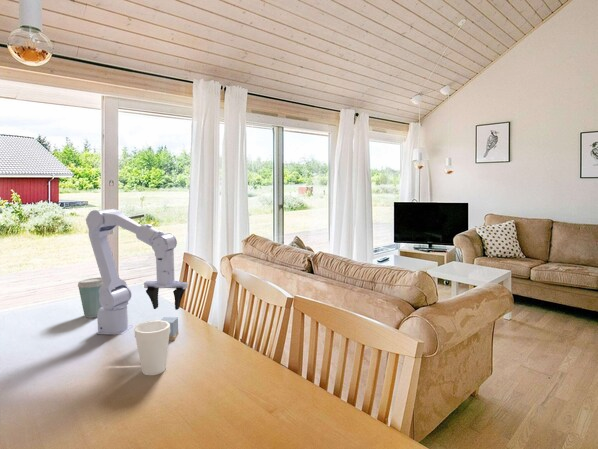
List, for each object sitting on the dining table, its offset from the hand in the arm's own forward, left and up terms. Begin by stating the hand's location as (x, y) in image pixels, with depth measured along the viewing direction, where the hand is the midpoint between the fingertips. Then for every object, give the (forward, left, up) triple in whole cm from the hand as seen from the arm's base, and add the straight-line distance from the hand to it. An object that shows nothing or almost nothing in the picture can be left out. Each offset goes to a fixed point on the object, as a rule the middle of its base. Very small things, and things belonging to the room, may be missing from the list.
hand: (166, 308), depth 133 cm
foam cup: (+6, -23, -11) cm, 26 cm away
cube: (+1, -1, -9) cm, 9 cm away
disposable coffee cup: (-38, +19, -11) cm, 44 cm away
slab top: (0, -1, -10) cm, 10 cm away
